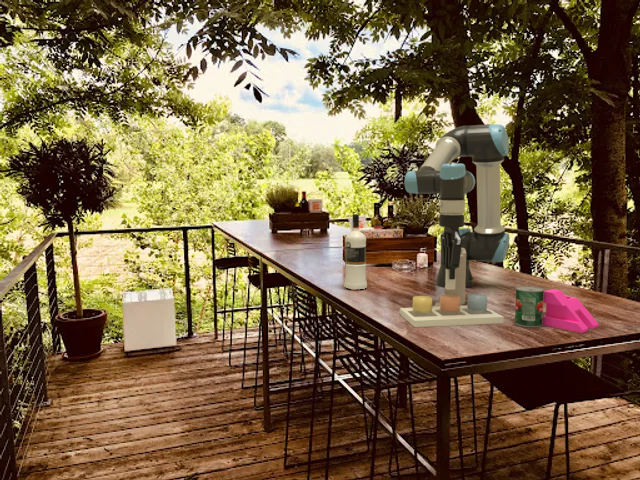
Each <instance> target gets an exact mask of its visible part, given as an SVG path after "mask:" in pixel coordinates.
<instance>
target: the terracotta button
mask: <svg viewBox="0 0 640 480" xmlns="http://www.w3.org/2000/svg"><path fill="white" fill-rule="evenodd" d="M439 302H440V309H441V310H443V311H450V312H454V311H459V310H460V306H461V305H460V297H459V296H456V295H444V294H442V295H440V301H439Z"/></svg>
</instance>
